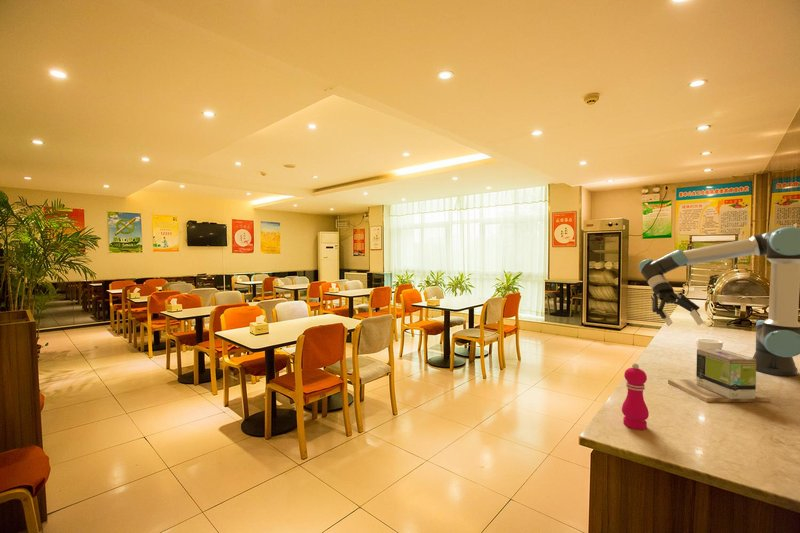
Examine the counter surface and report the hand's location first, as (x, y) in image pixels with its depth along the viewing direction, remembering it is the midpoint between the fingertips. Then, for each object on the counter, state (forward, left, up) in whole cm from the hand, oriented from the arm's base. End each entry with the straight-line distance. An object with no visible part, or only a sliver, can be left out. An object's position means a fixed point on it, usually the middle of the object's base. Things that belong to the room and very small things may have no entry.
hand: (685, 323), depth 159 cm
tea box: (+2, +22, -22) cm, 31 cm away
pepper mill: (+51, +45, -23) cm, 72 cm away
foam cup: (-19, -10, -23) cm, 32 cm away
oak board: (+2, +18, -23) cm, 30 cm away
